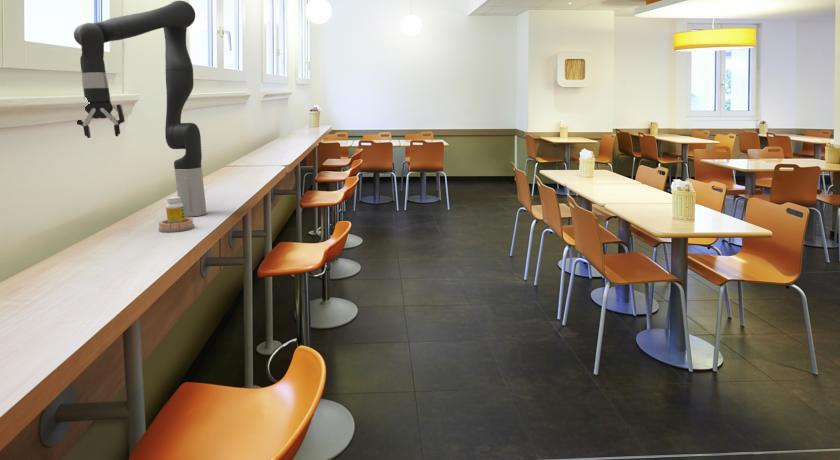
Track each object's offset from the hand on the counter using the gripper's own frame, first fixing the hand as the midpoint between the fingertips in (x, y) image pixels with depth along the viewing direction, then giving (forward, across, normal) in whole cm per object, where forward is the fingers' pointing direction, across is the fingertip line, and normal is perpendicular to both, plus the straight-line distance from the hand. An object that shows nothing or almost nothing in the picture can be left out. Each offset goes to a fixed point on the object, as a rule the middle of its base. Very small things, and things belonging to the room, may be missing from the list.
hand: (103, 137), depth 209 cm
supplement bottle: (+30, -21, +17) cm, 40 cm away
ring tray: (+30, -21, +17) cm, 40 cm away
